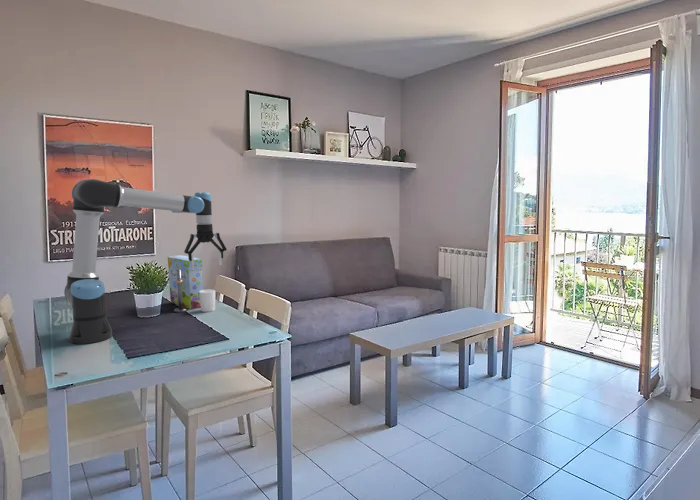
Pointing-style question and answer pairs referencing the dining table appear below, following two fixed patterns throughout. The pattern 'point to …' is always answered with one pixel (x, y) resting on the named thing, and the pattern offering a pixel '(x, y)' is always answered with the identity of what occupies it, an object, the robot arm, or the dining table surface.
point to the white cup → (207, 300)
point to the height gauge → (179, 293)
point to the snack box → (186, 280)
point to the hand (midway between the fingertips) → (206, 266)
